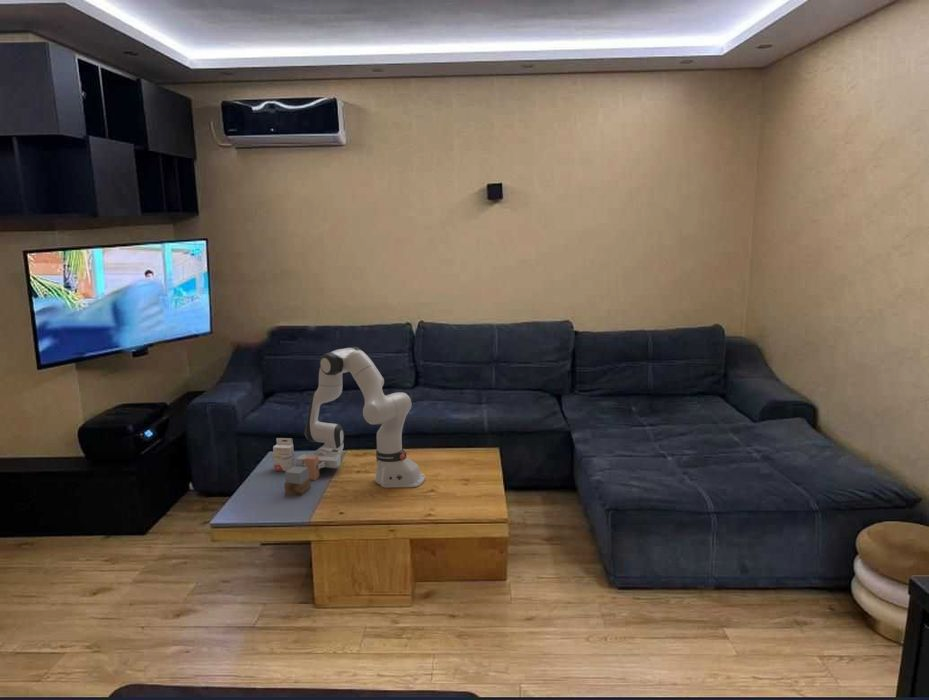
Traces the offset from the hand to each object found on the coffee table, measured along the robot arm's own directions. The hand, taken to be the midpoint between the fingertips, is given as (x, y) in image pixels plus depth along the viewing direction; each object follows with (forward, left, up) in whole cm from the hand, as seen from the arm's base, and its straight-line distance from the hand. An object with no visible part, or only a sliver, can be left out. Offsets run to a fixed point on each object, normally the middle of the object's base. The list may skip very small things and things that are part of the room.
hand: (311, 467), depth 303 cm
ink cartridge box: (+18, -9, -6) cm, 21 cm away
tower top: (0, +14, -1) cm, 14 cm away
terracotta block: (0, -1, -6) cm, 6 cm away
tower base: (0, +14, -6) cm, 15 cm away
